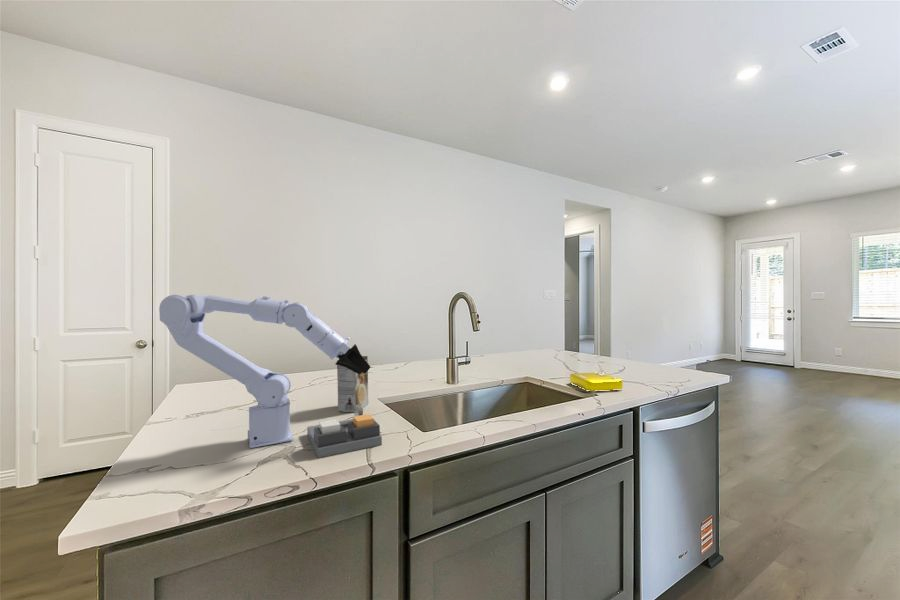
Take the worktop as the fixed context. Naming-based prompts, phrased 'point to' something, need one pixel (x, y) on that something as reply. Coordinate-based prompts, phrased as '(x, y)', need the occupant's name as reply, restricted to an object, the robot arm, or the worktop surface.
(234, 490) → the worktop surface
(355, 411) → the paddle
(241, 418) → the worktop surface
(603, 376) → the element tile
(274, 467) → the worktop surface
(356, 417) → the orange button
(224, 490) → the worktop surface
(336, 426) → the grey button
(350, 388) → the coffee box
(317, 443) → the panel
